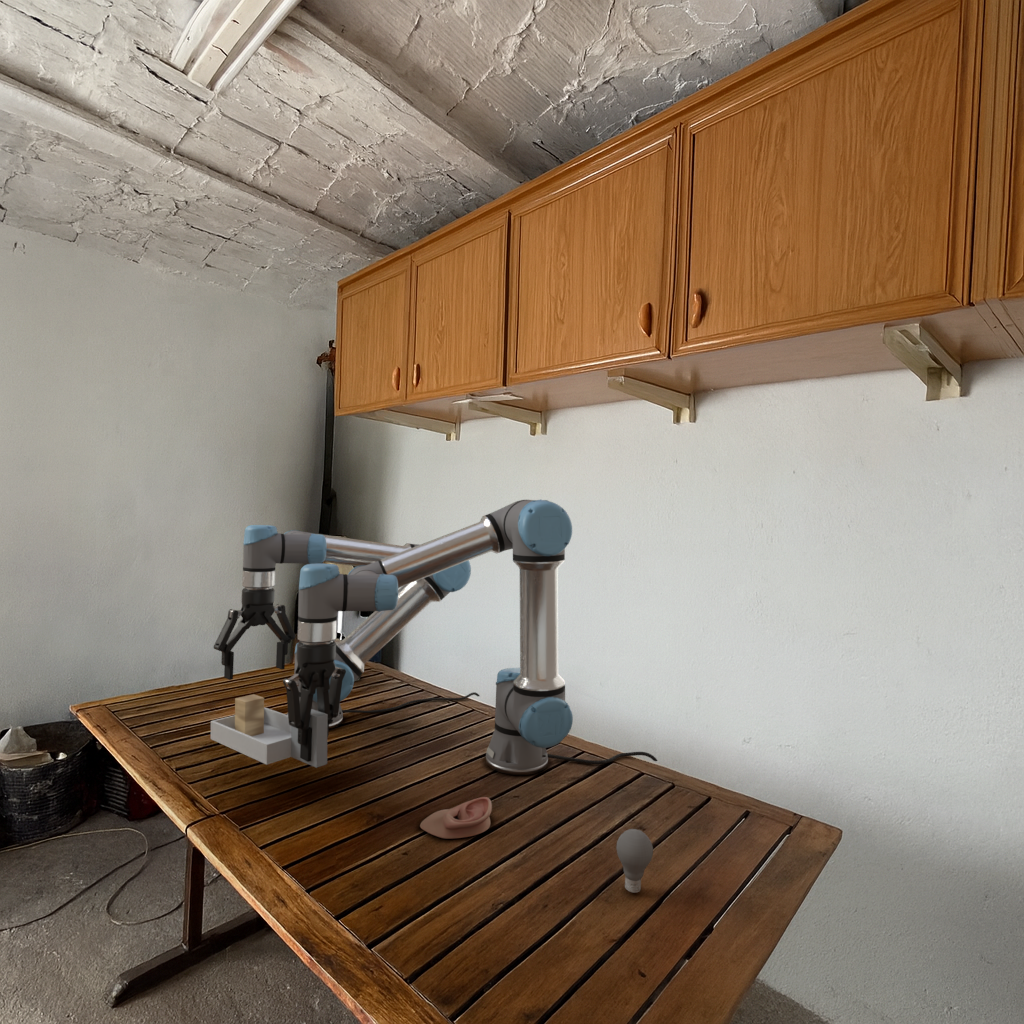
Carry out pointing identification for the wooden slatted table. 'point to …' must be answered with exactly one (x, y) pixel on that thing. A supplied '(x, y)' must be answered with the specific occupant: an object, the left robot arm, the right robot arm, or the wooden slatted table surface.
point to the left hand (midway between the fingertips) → (255, 673)
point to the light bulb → (634, 857)
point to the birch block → (249, 715)
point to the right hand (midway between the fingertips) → (312, 756)
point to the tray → (274, 738)
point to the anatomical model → (460, 820)
